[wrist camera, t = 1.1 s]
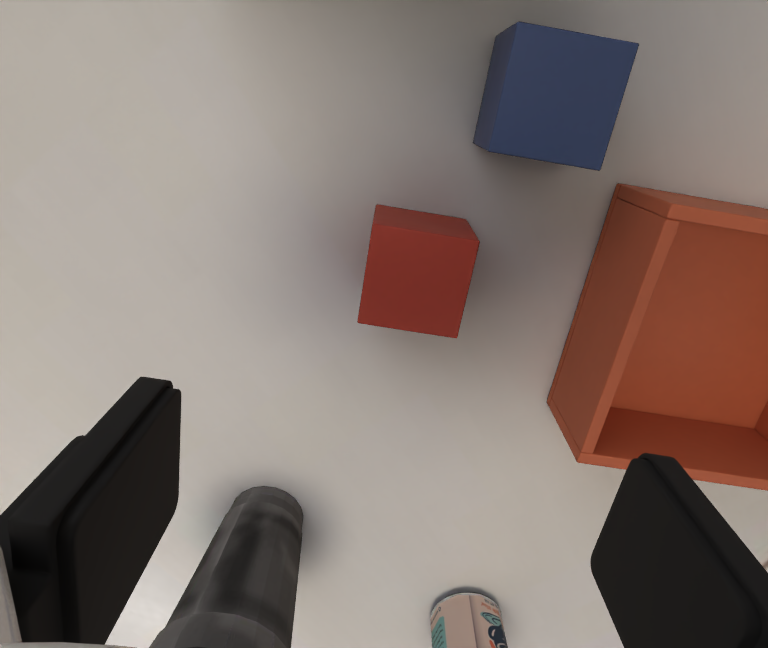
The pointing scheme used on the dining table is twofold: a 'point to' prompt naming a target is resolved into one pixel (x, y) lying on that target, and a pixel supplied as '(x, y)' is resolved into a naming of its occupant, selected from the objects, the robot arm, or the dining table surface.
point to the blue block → (553, 94)
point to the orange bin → (671, 340)
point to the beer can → (467, 623)
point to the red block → (417, 271)
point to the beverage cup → (243, 579)
